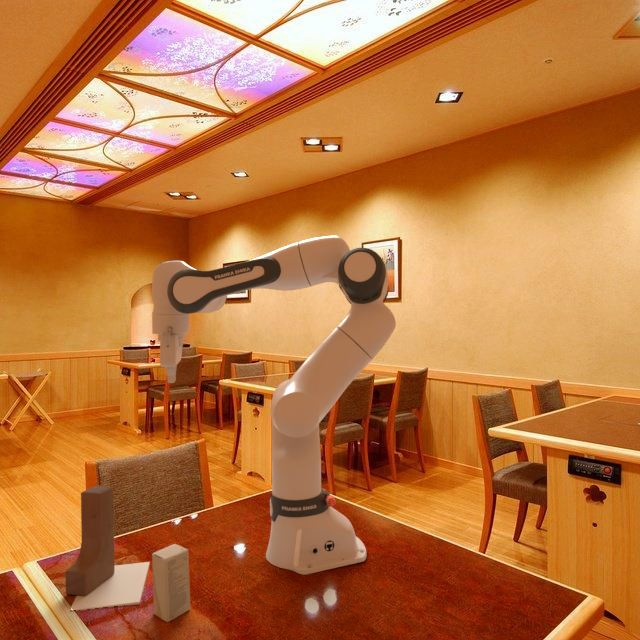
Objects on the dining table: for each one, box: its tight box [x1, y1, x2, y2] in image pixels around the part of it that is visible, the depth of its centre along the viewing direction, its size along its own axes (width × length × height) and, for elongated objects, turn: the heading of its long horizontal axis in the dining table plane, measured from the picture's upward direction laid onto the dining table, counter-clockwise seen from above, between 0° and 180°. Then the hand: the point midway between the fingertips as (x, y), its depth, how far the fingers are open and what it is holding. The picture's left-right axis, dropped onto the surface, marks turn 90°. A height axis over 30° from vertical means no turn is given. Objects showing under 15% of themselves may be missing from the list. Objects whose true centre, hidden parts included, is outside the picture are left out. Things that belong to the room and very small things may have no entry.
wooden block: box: [64, 485, 115, 596], centre depth 100 cm, size 9×4×18 cm, turn 166°
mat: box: [70, 561, 151, 612], centre depth 100 cm, size 12×16×1 cm
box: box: [151, 543, 191, 623], centre depth 91 cm, size 5×4×11 cm
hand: (171, 382), depth 126 cm, fingers closed
